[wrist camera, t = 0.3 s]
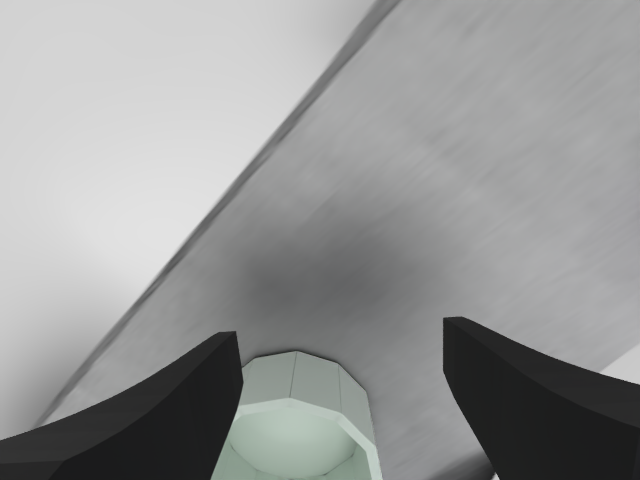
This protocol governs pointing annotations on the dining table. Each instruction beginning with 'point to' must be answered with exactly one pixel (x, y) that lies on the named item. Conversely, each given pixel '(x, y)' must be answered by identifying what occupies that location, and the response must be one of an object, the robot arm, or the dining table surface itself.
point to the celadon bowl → (299, 424)
